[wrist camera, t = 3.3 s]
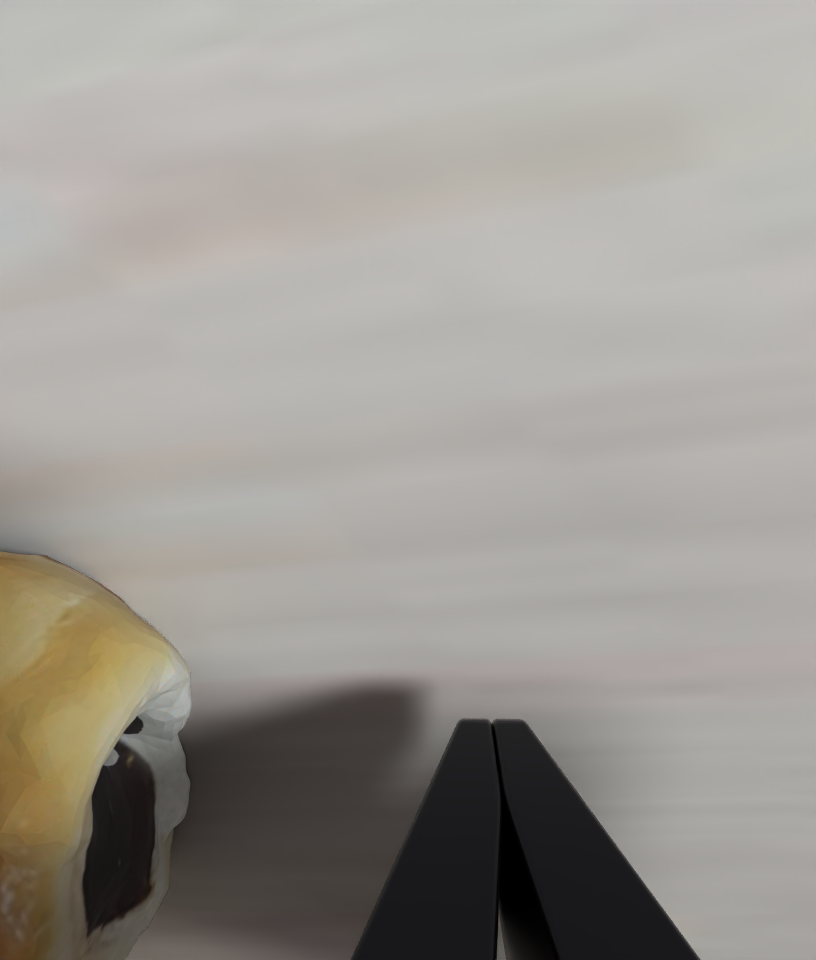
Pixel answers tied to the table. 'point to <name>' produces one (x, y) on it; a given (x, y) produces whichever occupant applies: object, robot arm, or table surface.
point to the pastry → (84, 764)
